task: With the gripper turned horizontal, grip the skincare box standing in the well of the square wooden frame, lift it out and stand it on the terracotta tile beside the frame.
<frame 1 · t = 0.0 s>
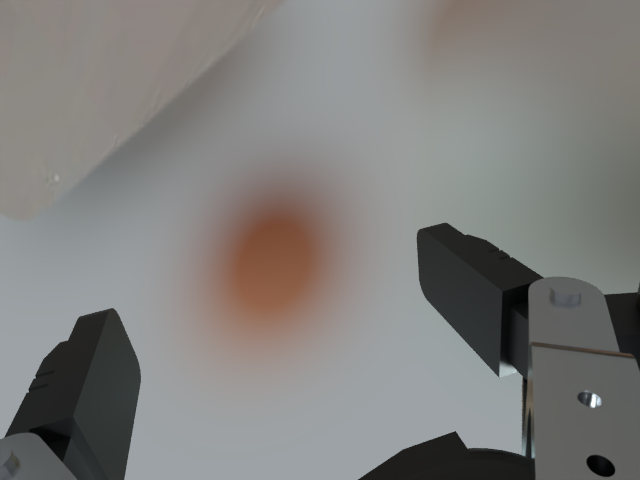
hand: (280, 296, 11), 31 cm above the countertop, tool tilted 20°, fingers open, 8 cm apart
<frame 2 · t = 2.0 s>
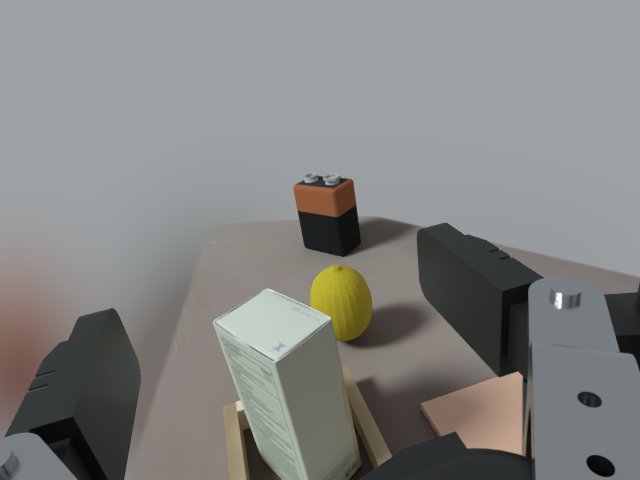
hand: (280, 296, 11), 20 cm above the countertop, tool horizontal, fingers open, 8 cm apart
terracotta tile: (525, 440, 29), on the countertop
skincare box: (308, 464, 30), resting in square wooden frame
lemon: (347, 341, 41), on the countertop
battery: (332, 247, 58), on the countertop
square wooden frame: (308, 462, 30), on the countertop
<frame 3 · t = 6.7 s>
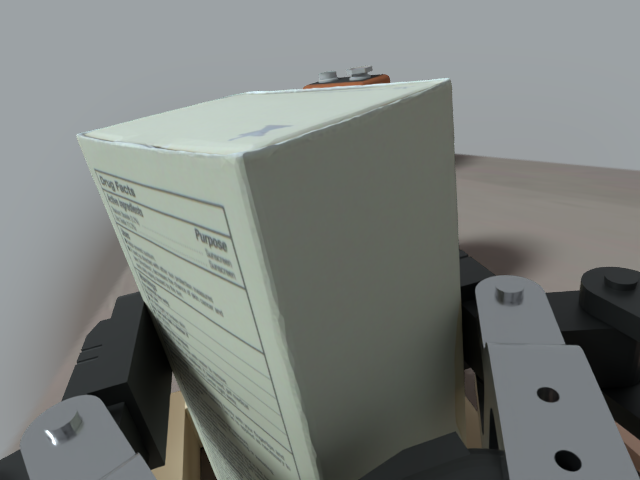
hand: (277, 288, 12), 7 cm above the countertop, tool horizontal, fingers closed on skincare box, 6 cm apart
battery: (356, 182, 41), on the countertop
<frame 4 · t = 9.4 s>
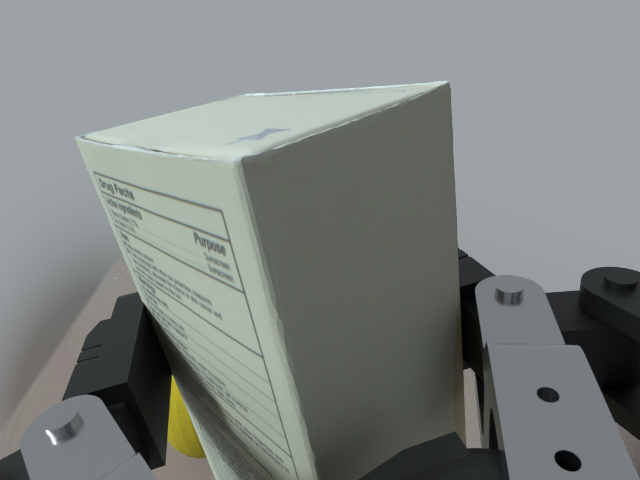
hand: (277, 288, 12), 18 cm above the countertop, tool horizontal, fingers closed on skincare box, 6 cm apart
lemon: (219, 448, 29), on the countertop
when the fingers open (8 cm above the countertop, at t = 12.3 s): skincare box stays where it is, resting on terracotta tile.
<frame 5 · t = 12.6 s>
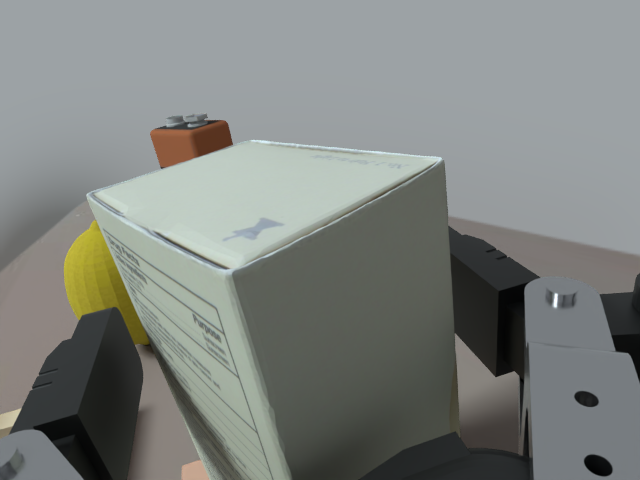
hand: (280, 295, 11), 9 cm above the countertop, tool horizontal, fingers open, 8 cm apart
lemon: (149, 345, 26), on the countertop
battery: (213, 218, 43), on the countertop
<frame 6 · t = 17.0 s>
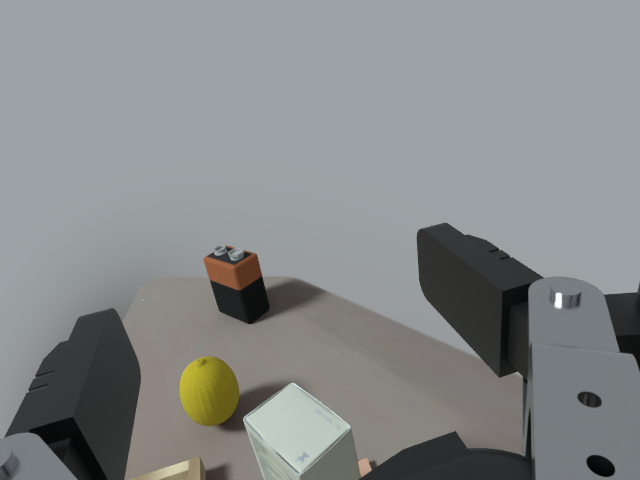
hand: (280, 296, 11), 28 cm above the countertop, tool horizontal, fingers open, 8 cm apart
lemon: (220, 421, 45), on the countertop
battery: (245, 312, 62), on the countertop
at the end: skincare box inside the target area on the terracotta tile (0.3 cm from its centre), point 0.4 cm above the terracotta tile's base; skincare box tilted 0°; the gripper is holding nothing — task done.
